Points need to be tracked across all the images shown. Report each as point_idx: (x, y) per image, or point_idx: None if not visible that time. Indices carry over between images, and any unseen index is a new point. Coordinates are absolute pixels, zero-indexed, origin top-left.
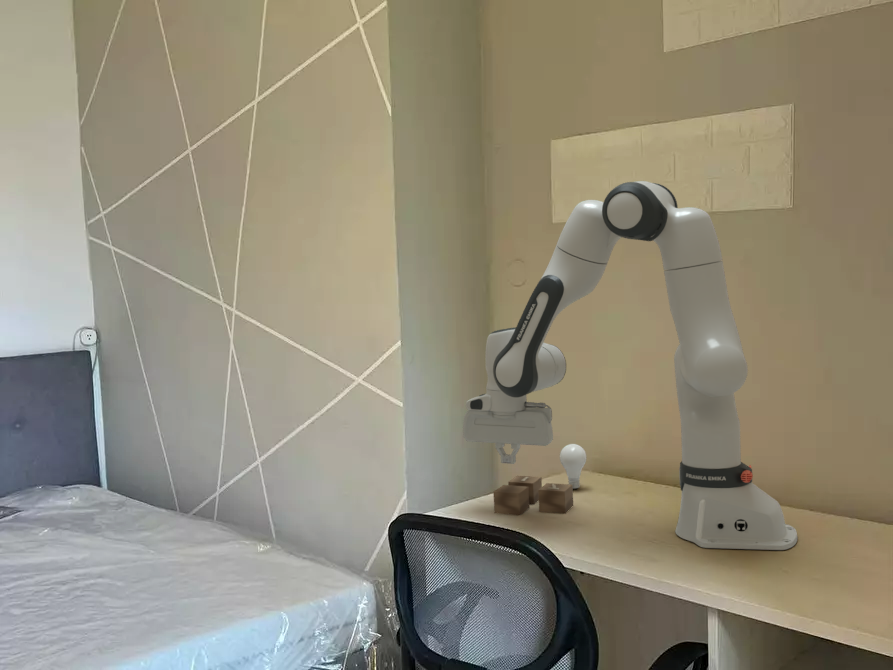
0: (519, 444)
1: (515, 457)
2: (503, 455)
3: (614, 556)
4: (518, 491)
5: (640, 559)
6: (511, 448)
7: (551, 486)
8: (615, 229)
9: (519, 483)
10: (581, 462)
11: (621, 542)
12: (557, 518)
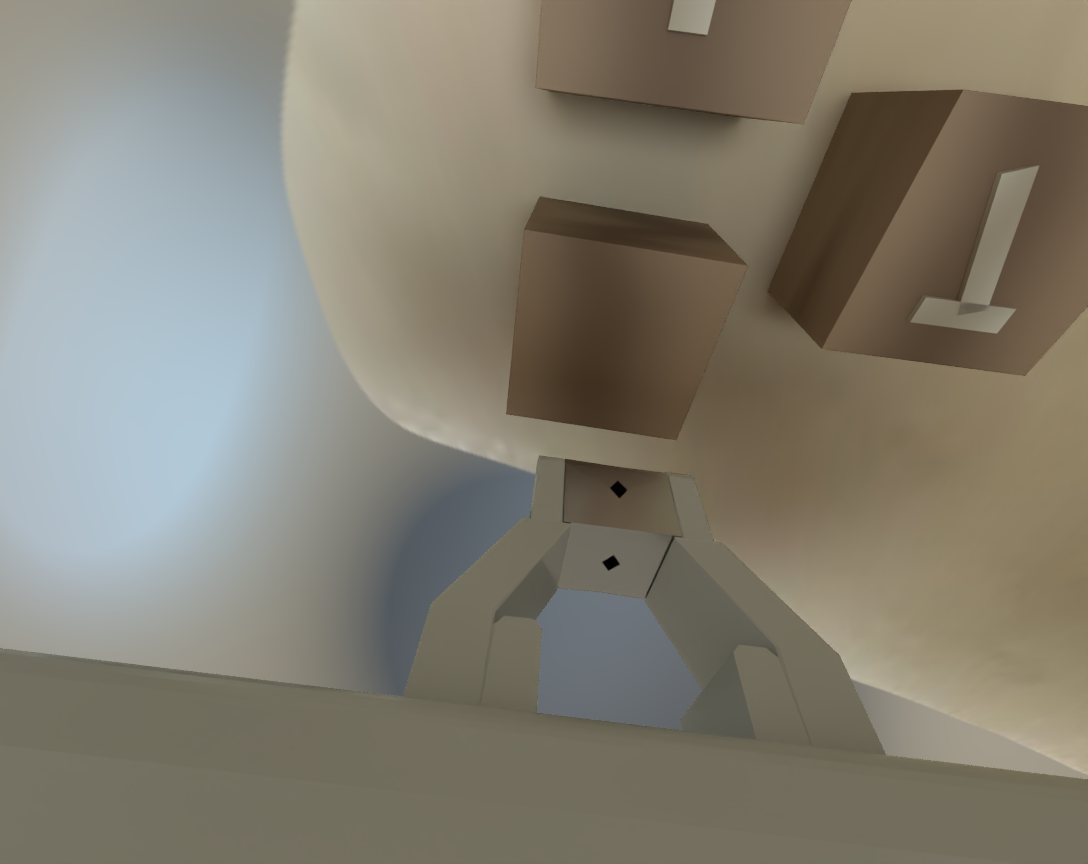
0: (847, 734)
1: (702, 519)
2: (556, 583)
3: (935, 665)
4: (670, 401)
5: (998, 675)
6: (684, 716)
7: (967, 236)
8: None
9: (655, 103)
10: None
11: (1014, 601)
12: (851, 399)
